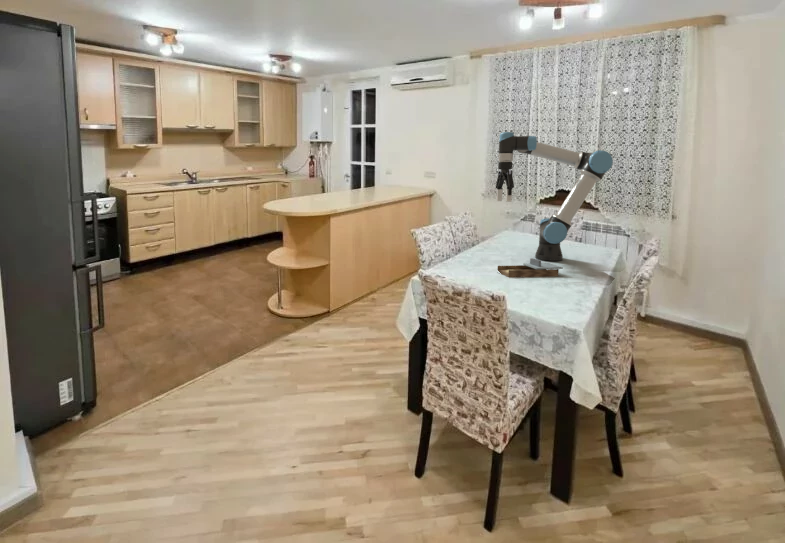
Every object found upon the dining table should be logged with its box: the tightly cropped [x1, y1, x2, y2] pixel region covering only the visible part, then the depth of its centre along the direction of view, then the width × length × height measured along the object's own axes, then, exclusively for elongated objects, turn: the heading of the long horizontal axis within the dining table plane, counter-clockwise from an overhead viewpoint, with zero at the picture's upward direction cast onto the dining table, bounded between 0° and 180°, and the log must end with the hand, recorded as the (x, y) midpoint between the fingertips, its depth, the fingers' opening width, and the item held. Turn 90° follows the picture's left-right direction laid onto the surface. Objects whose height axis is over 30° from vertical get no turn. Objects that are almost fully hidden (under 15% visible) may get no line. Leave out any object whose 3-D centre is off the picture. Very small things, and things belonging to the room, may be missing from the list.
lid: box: [523, 257, 564, 270], centre depth 246 cm, size 14×16×4 cm
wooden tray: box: [497, 264, 560, 278], centre depth 246 cm, size 26×16×4 cm, turn 99°
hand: (503, 201), depth 263 cm, fingers open, 13 cm apart
